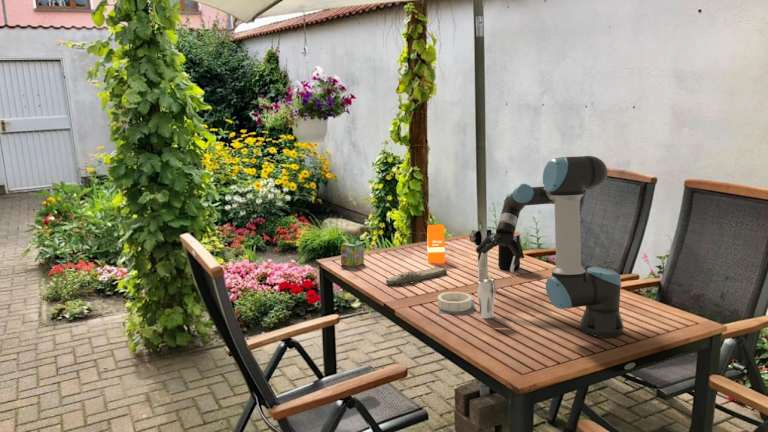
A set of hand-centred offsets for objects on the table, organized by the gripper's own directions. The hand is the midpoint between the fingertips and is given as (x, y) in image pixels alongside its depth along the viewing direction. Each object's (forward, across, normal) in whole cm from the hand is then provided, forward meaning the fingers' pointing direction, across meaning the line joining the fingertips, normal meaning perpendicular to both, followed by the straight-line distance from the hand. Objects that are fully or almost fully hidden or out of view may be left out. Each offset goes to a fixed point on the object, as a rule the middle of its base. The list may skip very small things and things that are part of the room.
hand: (495, 269), depth 243 cm
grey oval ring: (+16, +15, -8) cm, 23 cm away
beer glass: (+20, 0, -4) cm, 20 cm away
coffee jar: (-30, +12, -54) cm, 63 cm away
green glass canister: (-12, +91, -37) cm, 98 cm away
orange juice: (-28, +52, -53) cm, 80 cm away
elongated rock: (-5, +48, -30) cm, 56 cm away
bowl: (+16, +16, -8) cm, 23 cm away
